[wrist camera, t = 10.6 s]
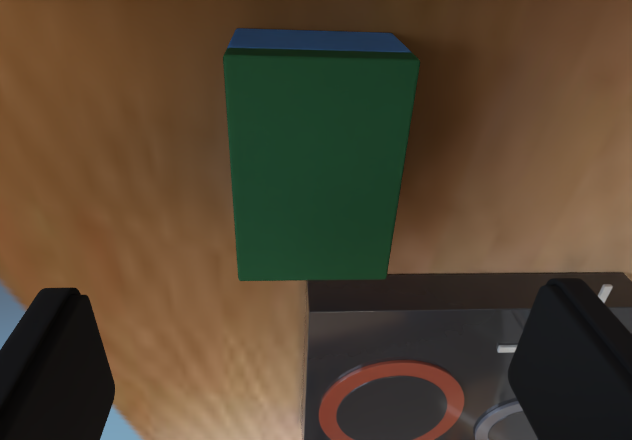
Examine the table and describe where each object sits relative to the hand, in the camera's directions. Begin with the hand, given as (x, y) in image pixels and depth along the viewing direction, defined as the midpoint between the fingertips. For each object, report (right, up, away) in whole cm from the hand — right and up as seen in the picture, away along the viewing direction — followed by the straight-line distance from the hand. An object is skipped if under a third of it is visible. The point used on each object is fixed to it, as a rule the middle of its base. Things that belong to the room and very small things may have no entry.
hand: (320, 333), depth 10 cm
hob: (+7, -5, +16) cm, 18 cm away
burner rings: (+7, -8, +14) cm, 18 cm away
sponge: (0, +6, +8) cm, 10 cm away
